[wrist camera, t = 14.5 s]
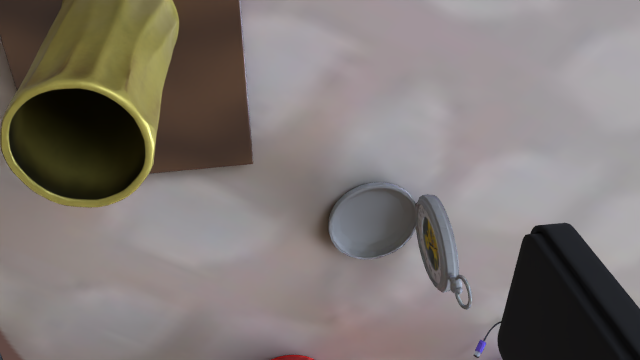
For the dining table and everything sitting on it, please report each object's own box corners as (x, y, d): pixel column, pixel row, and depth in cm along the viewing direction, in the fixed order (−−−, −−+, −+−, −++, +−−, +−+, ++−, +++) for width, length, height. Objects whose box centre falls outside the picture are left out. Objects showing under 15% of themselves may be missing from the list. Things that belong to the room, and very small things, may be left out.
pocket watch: (308, 217, 44) (333, 318, 36) (399, 145, 42) (448, 234, 34) (375, 275, 48) (411, 377, 40) (461, 211, 46) (518, 305, 38)
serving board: (-62, -192, 28) (-70, -191, 27) (223, -197, 30) (224, -196, 29) (48, 175, 39) (44, 183, 38) (252, 156, 41) (253, 164, 40)
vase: (136, 92, 36) (104, 243, 24) (38, 25, 33) (-52, 160, 21) (201, 14, 34) (201, 137, 22) (104, -64, 31) (46, 30, 19)
